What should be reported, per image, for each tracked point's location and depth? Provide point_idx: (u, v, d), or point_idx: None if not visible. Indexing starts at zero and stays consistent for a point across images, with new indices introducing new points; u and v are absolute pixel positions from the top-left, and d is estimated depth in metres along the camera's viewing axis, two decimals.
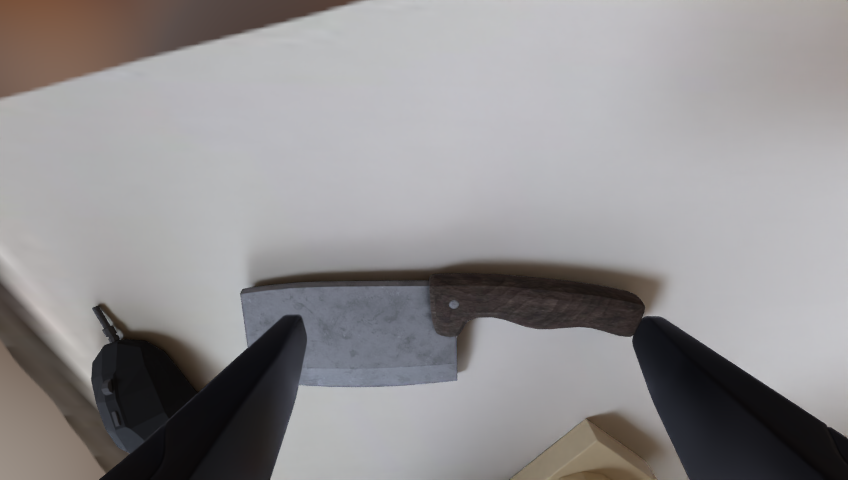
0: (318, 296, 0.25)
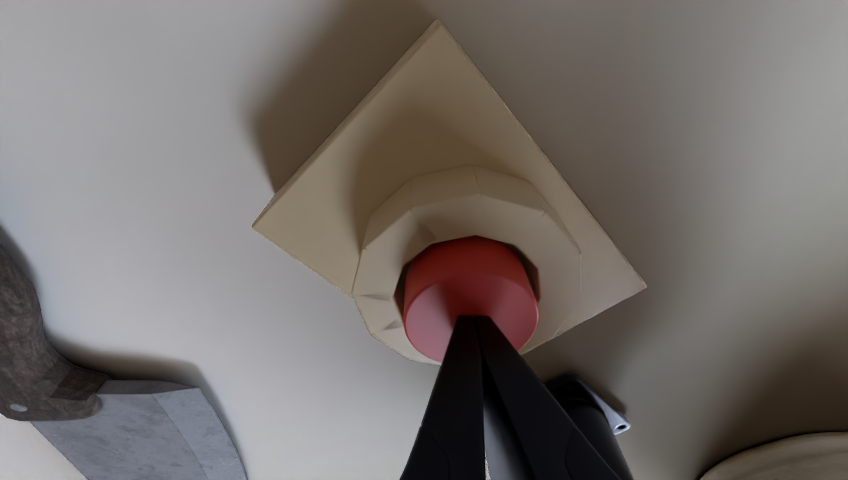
0: (101, 479, 0.23)
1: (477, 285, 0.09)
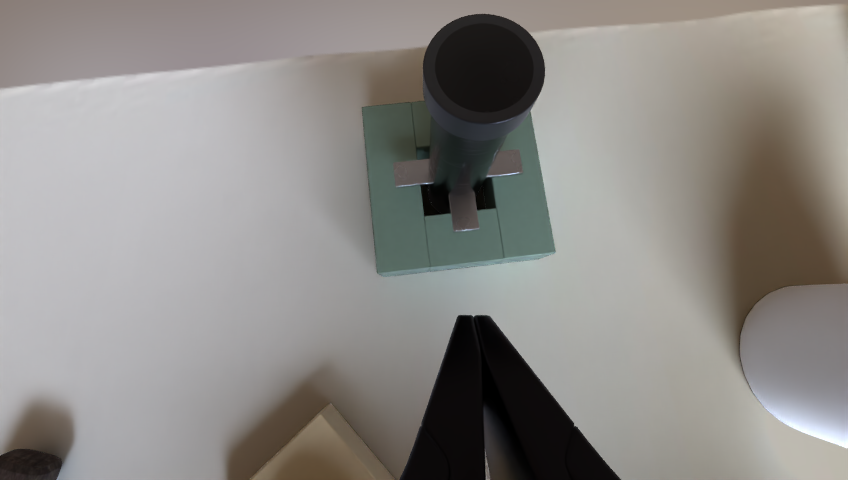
0: None
1: None
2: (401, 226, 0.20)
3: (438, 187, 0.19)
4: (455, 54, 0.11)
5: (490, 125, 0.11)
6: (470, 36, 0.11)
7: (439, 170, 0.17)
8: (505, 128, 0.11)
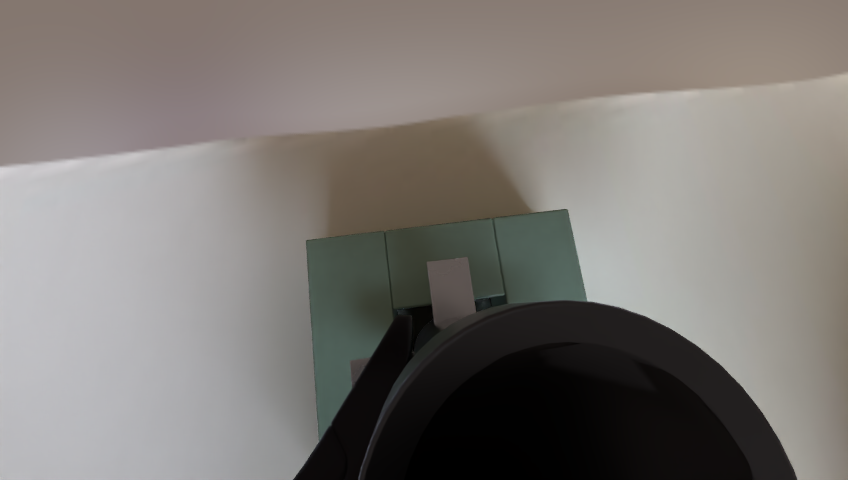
0: None
1: None
2: None
3: None
4: None
5: None
6: (526, 399, 0.03)
7: None
8: None
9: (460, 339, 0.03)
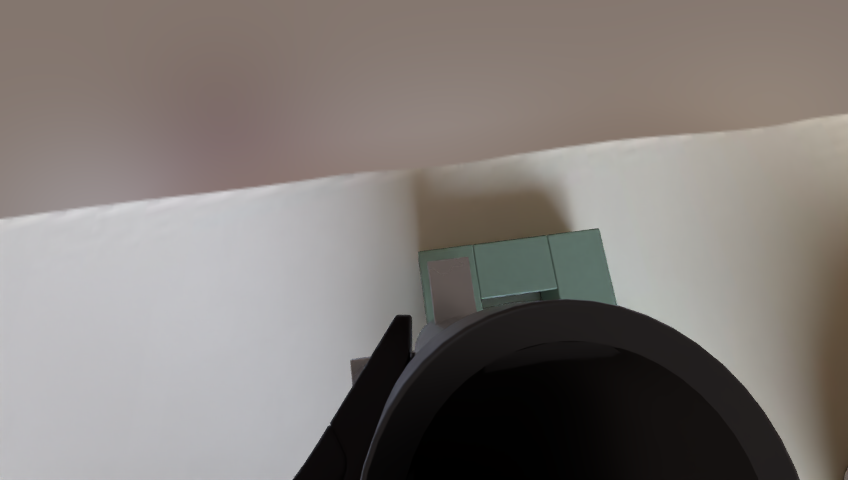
0: None
1: None
2: None
3: None
4: None
5: None
6: (528, 398, 0.03)
7: None
8: None
9: (462, 338, 0.03)
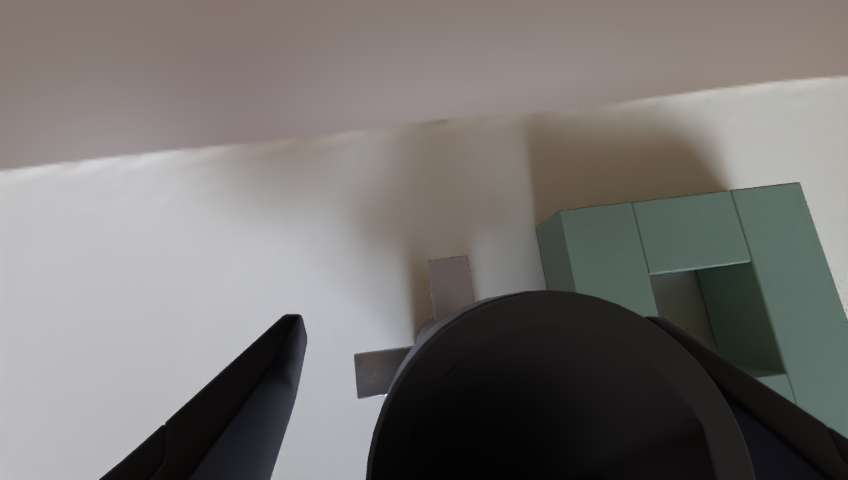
0: None
1: None
2: None
3: None
4: (469, 445, 0.03)
5: None
6: (515, 374, 0.04)
7: None
8: None
9: (458, 323, 0.04)
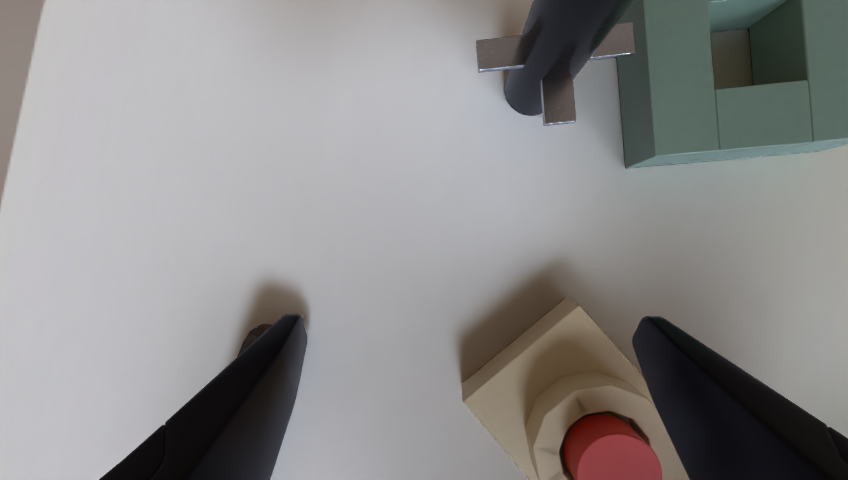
0: None
1: (622, 443, 0.15)
2: (686, 101, 0.17)
3: (530, 70, 0.16)
4: None
5: None
6: None
7: (542, 40, 0.14)
8: None
9: None
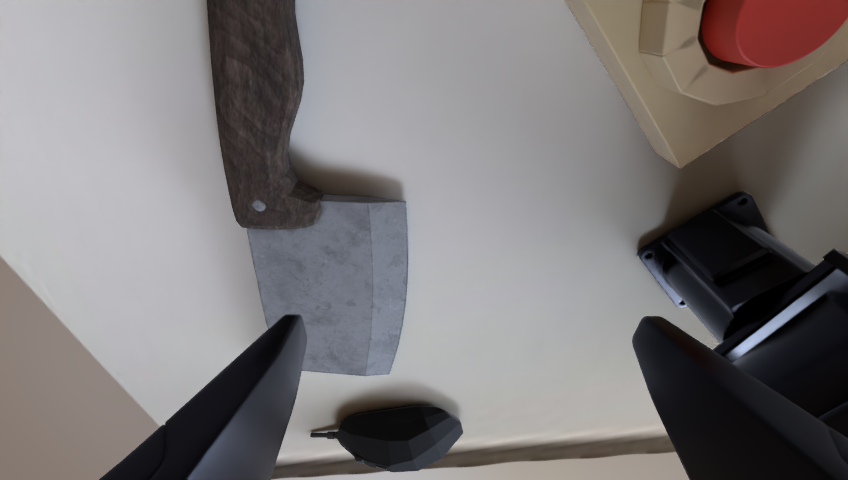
0: (277, 320, 0.25)
1: None
2: None
3: None
4: None
5: None
6: None
7: None
8: None
9: None
